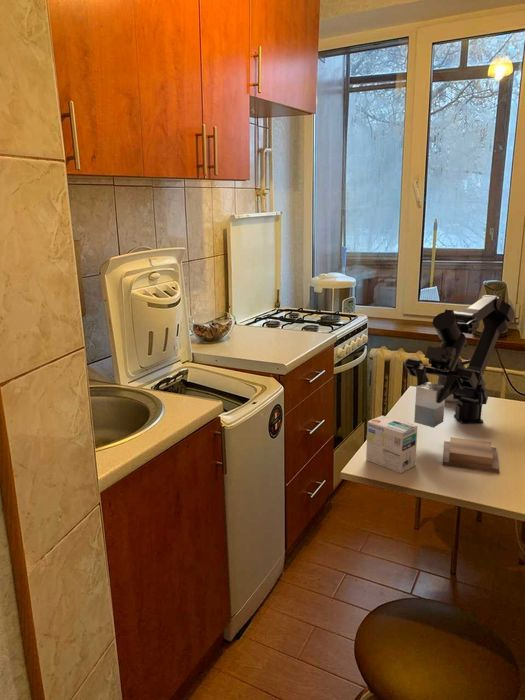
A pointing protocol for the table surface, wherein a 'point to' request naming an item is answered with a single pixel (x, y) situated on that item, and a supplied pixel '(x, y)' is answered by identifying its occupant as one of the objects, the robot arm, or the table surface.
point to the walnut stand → (470, 455)
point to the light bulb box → (391, 443)
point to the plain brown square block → (429, 405)
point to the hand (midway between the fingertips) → (427, 399)
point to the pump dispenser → (442, 380)
